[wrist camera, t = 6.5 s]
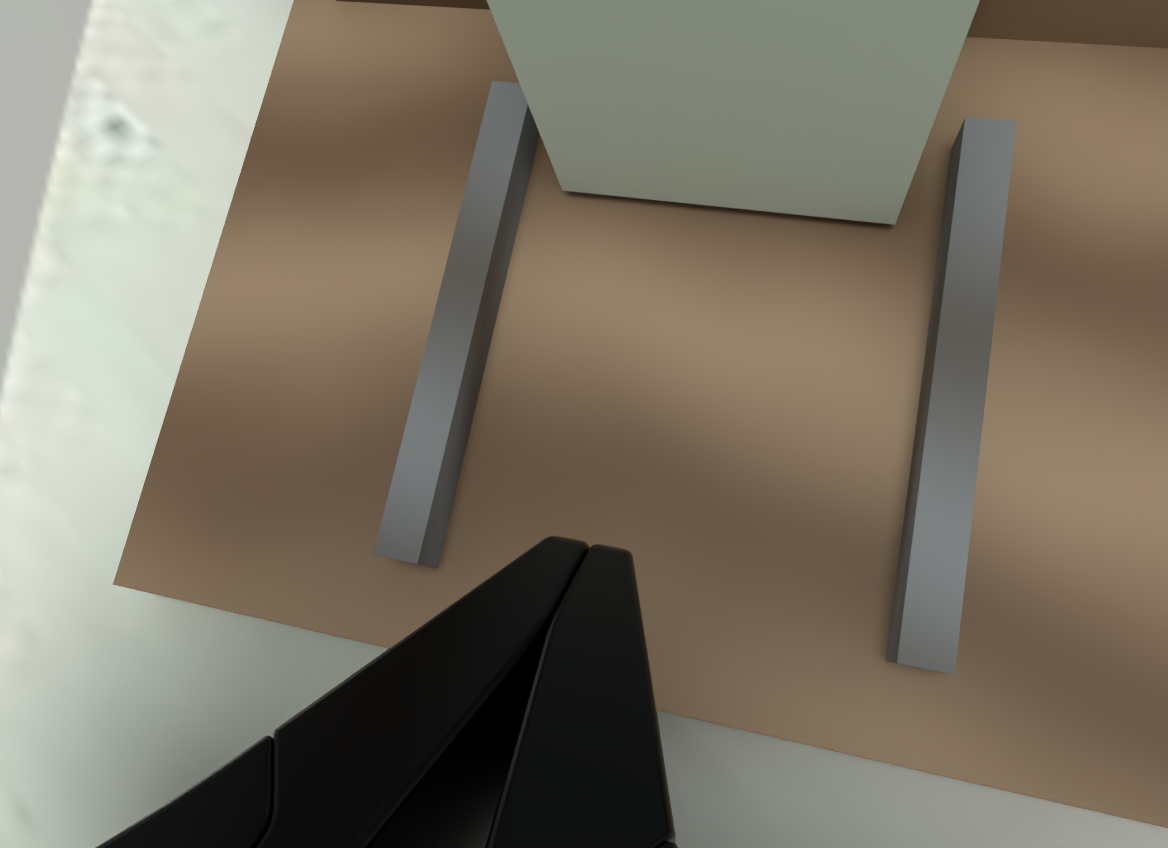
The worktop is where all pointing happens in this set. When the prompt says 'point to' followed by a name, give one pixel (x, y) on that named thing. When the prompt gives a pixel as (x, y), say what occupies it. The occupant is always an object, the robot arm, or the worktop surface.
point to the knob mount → (711, 397)
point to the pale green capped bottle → (737, 97)
